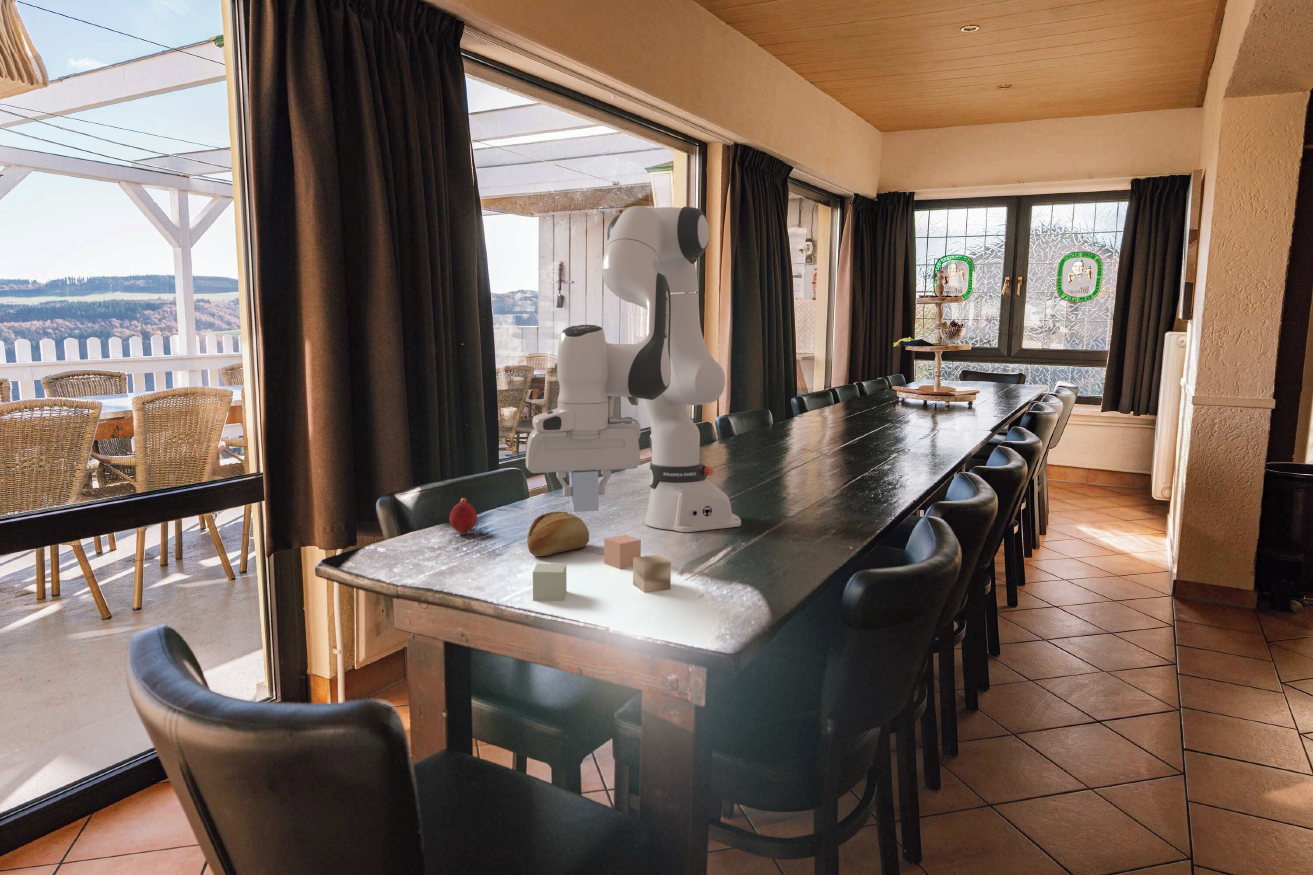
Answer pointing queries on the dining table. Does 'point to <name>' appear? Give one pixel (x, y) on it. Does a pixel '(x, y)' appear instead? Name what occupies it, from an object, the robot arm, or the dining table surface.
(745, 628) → the dining table surface
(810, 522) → the dining table surface
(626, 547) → the terracotta block
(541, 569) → the sage block
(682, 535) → the dining table surface
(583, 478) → the pale blue block
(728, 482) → the dining table surface
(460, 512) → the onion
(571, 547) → the bread roll
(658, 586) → the birch block
